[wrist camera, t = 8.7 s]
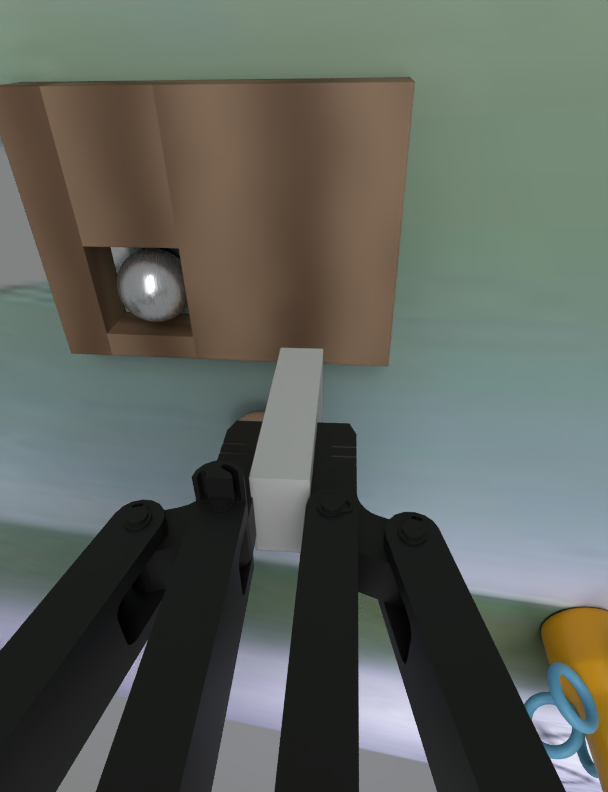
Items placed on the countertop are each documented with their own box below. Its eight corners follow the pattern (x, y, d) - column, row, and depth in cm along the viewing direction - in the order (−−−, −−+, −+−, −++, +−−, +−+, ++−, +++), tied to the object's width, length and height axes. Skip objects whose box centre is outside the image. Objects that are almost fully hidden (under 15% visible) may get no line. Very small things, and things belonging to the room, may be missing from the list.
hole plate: (92, 330, 29) (71, 353, 27) (20, 82, 22) (-16, 86, 20) (386, 341, 27) (388, 366, 25) (409, 77, 20) (414, 82, 18)
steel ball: (119, 336, 24) (193, 332, 24) (100, 267, 22) (181, 263, 22) (133, 304, 27) (199, 300, 27) (117, 239, 25) (189, 236, 25)
